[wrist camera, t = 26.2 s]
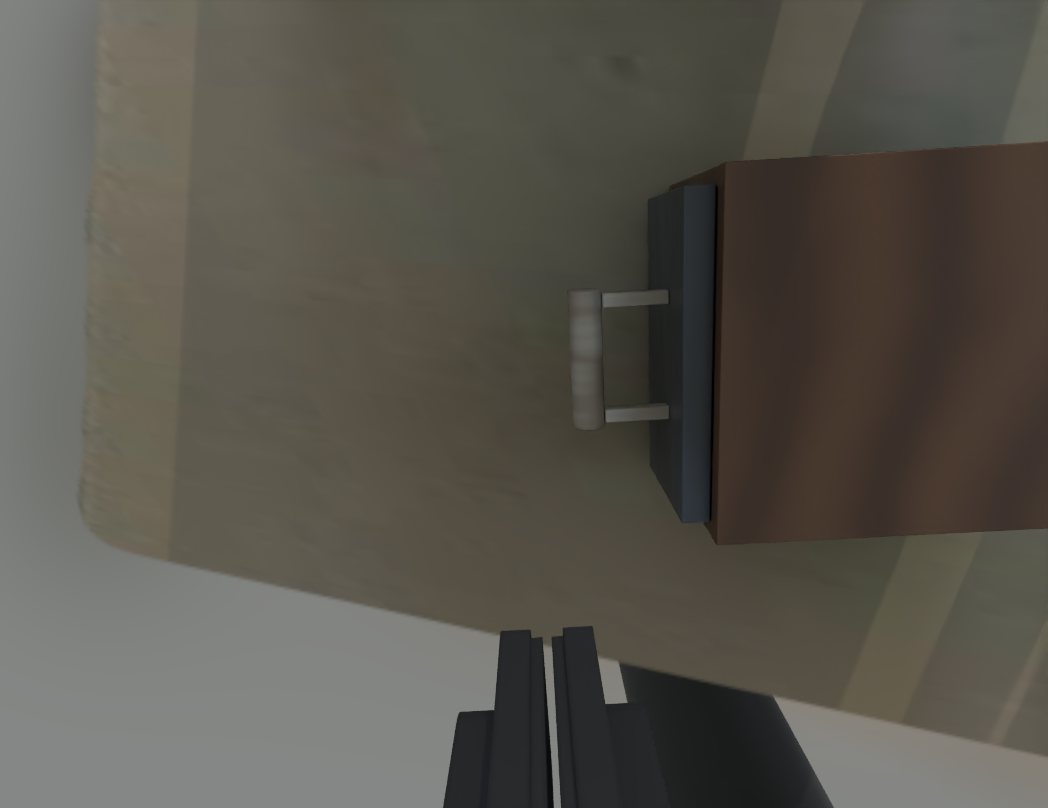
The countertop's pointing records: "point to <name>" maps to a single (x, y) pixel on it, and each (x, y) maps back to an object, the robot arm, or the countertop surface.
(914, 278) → the cabinet
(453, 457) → the countertop surface
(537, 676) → the robot arm
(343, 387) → the countertop surface
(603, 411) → the drawer
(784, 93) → the countertop surface
